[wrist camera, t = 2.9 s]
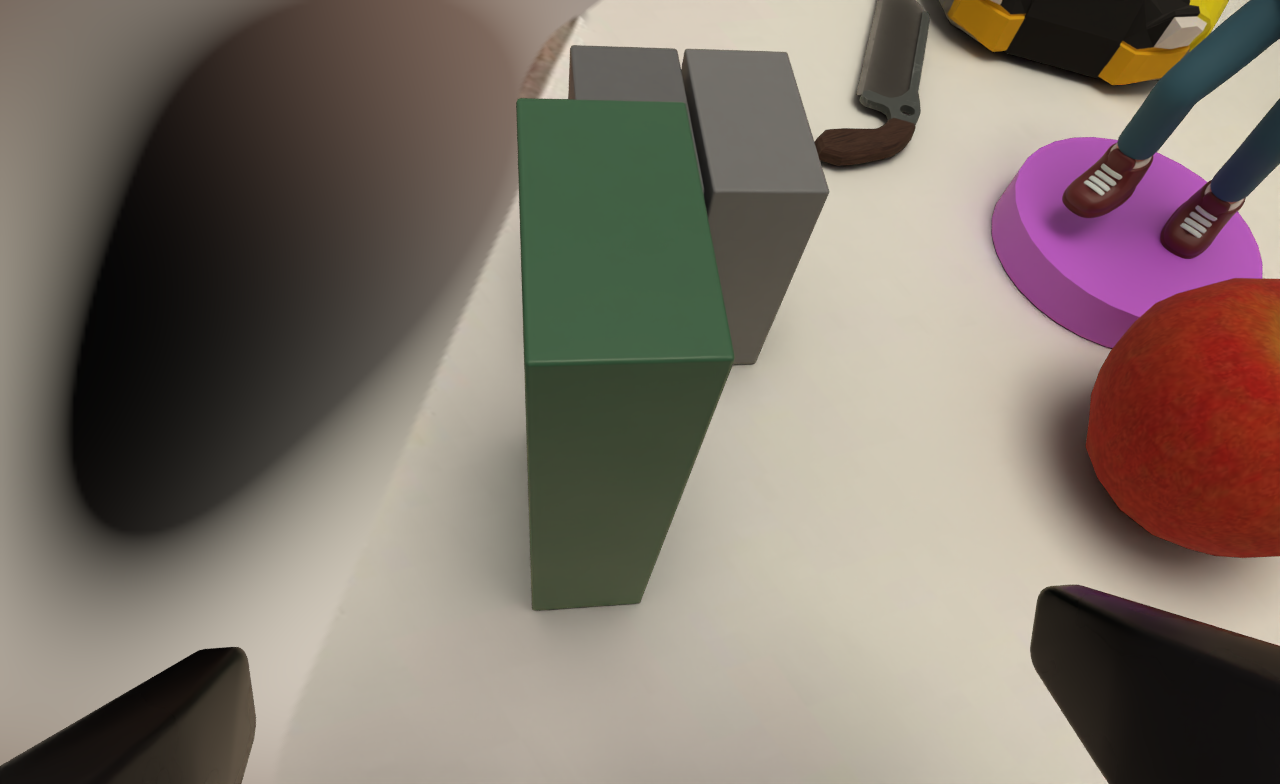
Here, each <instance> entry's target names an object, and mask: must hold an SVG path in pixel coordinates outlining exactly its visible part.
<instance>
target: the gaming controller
mask: <svg viewBox="0 0 1280 784" xmlns="http://www.w3.org/2000/svg"><path fill="white" fill-rule="evenodd" d="M938 1H939V2H940V4H941V6H942V7H943V10H944V12H945V15H946V17H947V18H948V20H949V21H950V23H951V25H953V26H955V27H957V28H959V29H961V30H963V31H964V32H965V33H967V34H968V35H970V36H971V37H972V38H974V39H975V40H977V41H978V42H980V43H981V44H983V45H984V46H985V47H987V48H988V49H989V50H991V51H992V52H995V51H1005V53H1008V54H1012V55H1015V56H1019V57H1022V58H1026V59H1029V60H1033V61H1037V62H1040V63H1044V64H1047V65H1051V66H1054V67H1058V68H1062V69H1065V70H1069V71H1072V72H1076V73H1079V74H1083V75H1087V76H1090V77H1094V78H1097V77H1100V78H1102V79H1103V80H1105V81H1106V82H1108V83H1109V84H1111V85H1124V84H1131V83H1136V82H1141V81H1150V80H1160V79H1161V78H1162V77H1163V76H1164V75H1165V74H1166V73H1167V72H1168V71H1169V70H1170V69H1171V68H1172V67H1173V66H1174V65H1175V64H1176V63H1178V62H1179V61H1180V60H1181V59H1182V58H1183V57H1184V56H1185V55H1187V54H1188V53H1189V52H1190V51H1191V50H1192V49H1193V48H1195V47H1196V46H1197V45H1198V44H1199V43H1200V42H1201V41H1202V40H1204V39H1205V38H1206V37H1207V36H1208V35H1209V34H1210V33H1211V31H1212V29H1213V28H1214V26H1215V24H1216V23H1217V21H1218V19H1219V17H1220V16H1221V14H1222V12H1223V11H1224V9H1225V7H1226V5H1227V3H1228V1H1229V0H938Z"/></svg>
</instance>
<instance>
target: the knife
mask: <svg viewBox="0 0 1280 784" xmlns="http://www.w3.org/2000/svg"><path fill="white" fill-rule="evenodd" d="M929 22H930V16H929V14H928V12H926V11H924V9H923V8H922V6H921V5H920V4H919V3H918V2H917V1H916V0H878V1H877V6H876V10H875V14H874V19H873V23H872V27H871V32H870V36H869V40H868V45H867V49H866V54H865V58H864V62H863V67H862V71H861V75H860V80H859V84H858V89H857V93H856V95H858V96H860V97H861V98H860V103H861V104H863V105H864V106H865V107H869V108H872V109H875V110H878V111H881V112H882V113H884V114H885V115H886V116H887V119H888V121H887V123H886V124H885V125H883V126H881V127H880V128H877V129H848V128H845V129H830V130H825V131H824V132H823V133H822V134H821V135H820V136H819V137H818V138H817V139H816V141H815V142H814V143H815V146H816V149H817V153H818V156H819V159H820V161H824V162H827V163H830V164H833V165H836V166H842V165H854V164H862V163H866V162H871V161H876V160H880V159H885V158H889V157H892V156H894V155H895V154H897V153H898V152H900V151H901V150H902V149H903V148H904V147H905V146H906V145H907V144H908V143H909V141H910V140H911V138H912V136H913V133H914V130H915V125H916V123H917V121H918V118H919V115H920V100H919V94H918V90H919V84H920V77H921V71H922V65H923V59H924V53H925V47H926V40H927V34H928V28H929ZM902 112H906V113H908V114H910V115H905V114H903V113H902Z"/></svg>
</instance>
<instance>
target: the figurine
mask: <svg viewBox="0 0 1280 784" xmlns="http://www.w3.org/2000/svg"><path fill="white" fill-rule="evenodd" d="M1278 39H1280V0H1250V1H1249V2H1247V3H1246V4H1245V5H1244V6H1242V7H1241V8H1240V9H1239V10H1237V11H1236V12H1235V13H1234V14H1233V15H1231V16H1230V17H1229V18H1228V19H1227V20H1225V21H1224V22H1223V23H1222V24H1221V25H1220V26H1218V27H1217V28H1216V29H1215V30H1214V31H1213V32H1212V33H1210V34H1209V35H1208V36H1207V37H1206V38H1205V39H1204V40H1202V41H1201V42H1200V43H1199V44H1198V45H1197V46H1196V47H1195V48H1193V49H1192V50H1191V51H1190V52H1189V53H1188V54H1187V55H1185V56H1184V57H1183V58H1182V59H1181V60H1180V61H1179V62H1178V63H1176V64H1175V65H1174V66H1173V67H1172V68H1171V69H1170V70H1169V71H1168V72H1167V73H1166V74H1165V75H1164V76H1163V77H1162V78H1161V79H1160V80H1159V81H1158V82H1157V84H1156V85H1155V86H1154V88H1153V89H1152V91H1151V92H1150V94H1149V95H1148V97H1147V98H1146V100H1145V101H1144V103H1143V104H1142V106H1141V107H1140V108H1139V110H1138V111H1137V113H1136V114H1135V115H1134V117H1133V118H1132V120H1131V121H1130V122H1129V124H1128V125H1127V126H1126V128H1125V129H1124V131H1123V132H1122V134H1121V135H1120V137H1119V139H1118V140H1113V139H1105V138H1096V137H1081V138H1069V139H1065V140H1060V141H1055V142H1053V143H1051V144H1048V145H1046V146H1044V147H1041V148H1040V149H1038V150H1037V151H1036V152H1035V153H1033V154H1032V155H1031V156H1030V157H1028V158H1027V160H1026V161H1025V163H1024V164H1023V166H1022V167H1021V168H1020V170H1019V171H1018V173H1017V174H1016V176H1015V177H1014V179H1013V180H1012V181H1011V183H1010V184H1009V186H1008V187H1007V189H1006V190H1005V192H1004V193H1003V195H1002V196H1001V198H1000V199H999V201H998V202H997V203H996V206H995V210H994V213H993V216H992V238H993V241H994V245H995V249H996V253H997V255H998V257H999V259H1000V261H1001V263H1002V265H1003V267H1004V269H1005V271H1006V273H1007V274H1008V275H1009V277H1010V278H1011V279H1012V281H1013V282H1014V283H1015V285H1016V286H1017V288H1018V289H1019V290H1020V291H1021V292H1022V293H1023V294H1024V295H1025V296H1026V297H1027V298H1028V299H1029V300H1030V301H1031V302H1032V303H1033V304H1034V305H1035V306H1036V307H1037V308H1038V309H1040V310H1041V311H1042V312H1043V313H1045V314H1046V315H1047V316H1049V317H1050V318H1051V319H1053V320H1054V321H1055V322H1057V323H1058V324H1060V325H1062V326H1063V327H1065V328H1067V329H1069V330H1070V331H1072V332H1074V333H1076V334H1077V335H1079V336H1081V337H1084V338H1086V339H1088V340H1091V341H1093V342H1096V343H1098V344H1101V345H1103V346H1106V347H1110V348H1113V347H1114V346H1115V345H1116V343H1117V342H1118V341H1119V340H1120V339H1121V337H1122V336H1123V335H1124V334H1125V333H1126V331H1127V330H1128V329H1129V328H1130V327H1131V325H1132V324H1133V323H1134V322H1135V321H1136V320H1137V319H1138V318H1139V317H1141V316H1142V315H1143V314H1144V313H1145V312H1146V311H1147V310H1148V309H1150V308H1151V307H1152V306H1153V305H1154V304H1155V303H1157V302H1159V301H1162V300H1164V299H1166V298H1168V297H1171V296H1173V295H1175V294H1177V293H1181V292H1185V291H1188V290H1192V289H1195V288H1199V287H1203V286H1206V285H1210V284H1214V283H1217V282H1221V281H1225V280H1229V279H1233V278H1257V279H1262V260H1261V256H1260V252H1259V248H1258V245H1257V243H1256V241H1255V238H1254V236H1253V234H1252V232H1251V230H1250V228H1249V227H1248V225H1247V224H1246V222H1245V221H1244V220H1243V218H1242V217H1241V215H1240V214H1239V213H1238V210H1239V209H1240V208H1241V207H1242V206H1243V204H1244V202H1245V198H1246V197H1247V196H1248V195H1249V194H1250V193H1251V192H1252V191H1253V190H1254V189H1255V188H1256V187H1257V186H1258V185H1259V184H1260V183H1261V182H1262V181H1263V180H1264V179H1265V178H1266V177H1267V176H1268V175H1269V174H1270V173H1271V172H1272V171H1273V170H1274V169H1275V168H1276V167H1277V166H1278V165H1279V164H1280V99H1279V100H1278V101H1277V102H1276V103H1275V105H1274V106H1273V107H1272V108H1271V109H1270V111H1269V112H1268V113H1267V114H1266V115H1265V117H1264V118H1263V119H1262V120H1261V121H1260V123H1259V124H1258V125H1257V126H1256V127H1255V129H1254V130H1253V131H1252V132H1251V133H1250V135H1249V136H1248V137H1247V138H1246V140H1245V141H1244V142H1243V143H1242V144H1241V146H1240V147H1239V148H1238V149H1237V150H1236V152H1235V153H1234V154H1233V155H1232V156H1231V157H1230V159H1229V160H1228V161H1227V162H1226V163H1225V164H1224V165H1223V167H1222V168H1221V169H1220V170H1219V171H1218V172H1217V174H1216V175H1215V176H1214V177H1213V179H1212V180H1211V181H1209V182H1206V181H1205V180H1204V179H1203V178H1201V177H1200V176H1198V175H1197V174H1195V173H1194V172H1192V171H1191V170H1189V169H1187V168H1186V167H1184V166H1183V165H1181V164H1179V163H1177V162H1175V161H1173V160H1171V159H1169V158H1167V157H1165V156H1163V155H1161V154H1159V153H1157V151H1158V150H1159V149H1160V147H1161V146H1162V145H1163V144H1164V142H1165V141H1166V140H1167V139H1168V138H1169V136H1170V135H1171V134H1172V133H1173V131H1174V130H1175V129H1176V128H1177V126H1178V125H1179V124H1180V123H1181V121H1182V120H1183V119H1184V118H1185V116H1186V115H1187V114H1188V112H1189V111H1190V110H1191V109H1192V107H1193V106H1194V105H1195V104H1196V103H1197V102H1198V101H1200V100H1201V99H1202V98H1204V97H1205V96H1206V95H1208V94H1209V93H1210V92H1212V91H1213V90H1214V89H1216V88H1217V87H1218V86H1220V85H1221V84H1222V83H1224V82H1225V81H1226V80H1228V79H1229V78H1230V77H1232V76H1233V75H1234V74H1236V73H1237V72H1238V71H1240V70H1241V69H1242V68H1243V67H1245V66H1246V65H1247V64H1248V63H1250V62H1251V61H1252V60H1253V59H1255V58H1256V57H1257V56H1258V55H1260V54H1261V53H1262V52H1263V51H1264V50H1266V49H1267V48H1268V47H1269V46H1271V45H1272V44H1273V43H1274V42H1276V41H1277V40H1278Z"/></svg>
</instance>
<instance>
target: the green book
mask: <svg viewBox="0 0 1280 784" xmlns="http://www.w3.org/2000/svg"><path fill="white" fill-rule="evenodd" d="M516 108H517V141H518V171H519V172H518V174H519V206H520V239H521V272H522V304H523V337H524V370H525V403H526V435H527V466H528V497H529V529H530V560H531V591H532V609H533V610H535V611H536V610H550V609H564V608H578V607H592V606H606V605H620V604H634V603H640V601H641V599H642V596H643V594H644V591H645V588H646V586H647V583H648V581H649V578H650V576H651V573H652V570H653V568H654V565H655V563H656V560H657V558H658V555H659V552H660V550H661V547H662V545H663V542H664V540H665V537H666V534H667V532H668V529H669V527H670V524H671V522H672V519H673V516H674V514H675V511H676V509H677V506H678V504H679V501H680V498H681V496H682V493H683V491H684V488H685V486H686V483H687V480H688V478H689V475H690V473H691V470H692V468H693V465H694V462H695V460H696V457H697V455H698V452H699V450H700V447H701V444H702V442H703V439H704V437H705V434H706V432H707V429H708V426H709V424H710V421H711V419H712V416H713V414H714V411H715V409H716V406H717V403H718V401H719V398H720V396H721V393H722V391H723V388H724V385H725V383H726V380H727V378H728V375H729V373H730V370H731V367H732V365H733V362H734V359H735V356H734V350H733V345H732V340H731V335H730V330H729V324H728V319H727V314H726V309H725V304H724V299H723V293H722V288H721V283H720V278H719V273H718V267H717V262H716V257H715V252H714V247H713V242H712V236H711V231H710V226H709V221H708V216H707V210H706V205H705V200H704V195H703V190H702V185H701V179H700V174H699V169H698V164H697V159H696V153H695V148H694V143H693V138H692V133H691V128H690V122H689V117H688V112H687V107H686V104H685V103H684V102H660V101H616V100H572V99H528V98H520V99H518V100H517V102H516Z"/></svg>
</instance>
